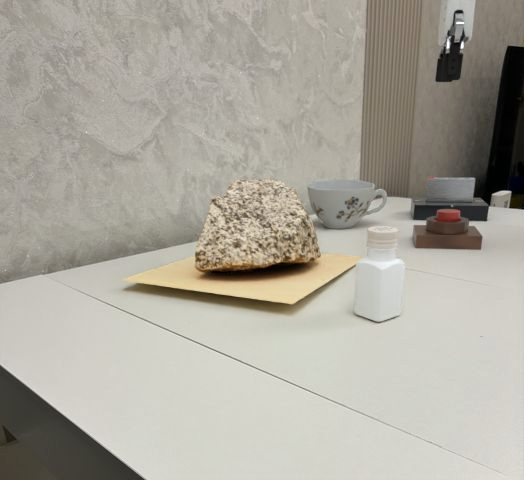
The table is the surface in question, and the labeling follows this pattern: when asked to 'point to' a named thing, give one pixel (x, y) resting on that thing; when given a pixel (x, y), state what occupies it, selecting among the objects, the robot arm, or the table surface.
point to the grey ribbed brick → (450, 189)
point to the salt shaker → (379, 276)
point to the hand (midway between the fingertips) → (446, 81)
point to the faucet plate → (469, 210)
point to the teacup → (343, 201)
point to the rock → (254, 248)
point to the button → (448, 215)
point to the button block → (447, 235)
